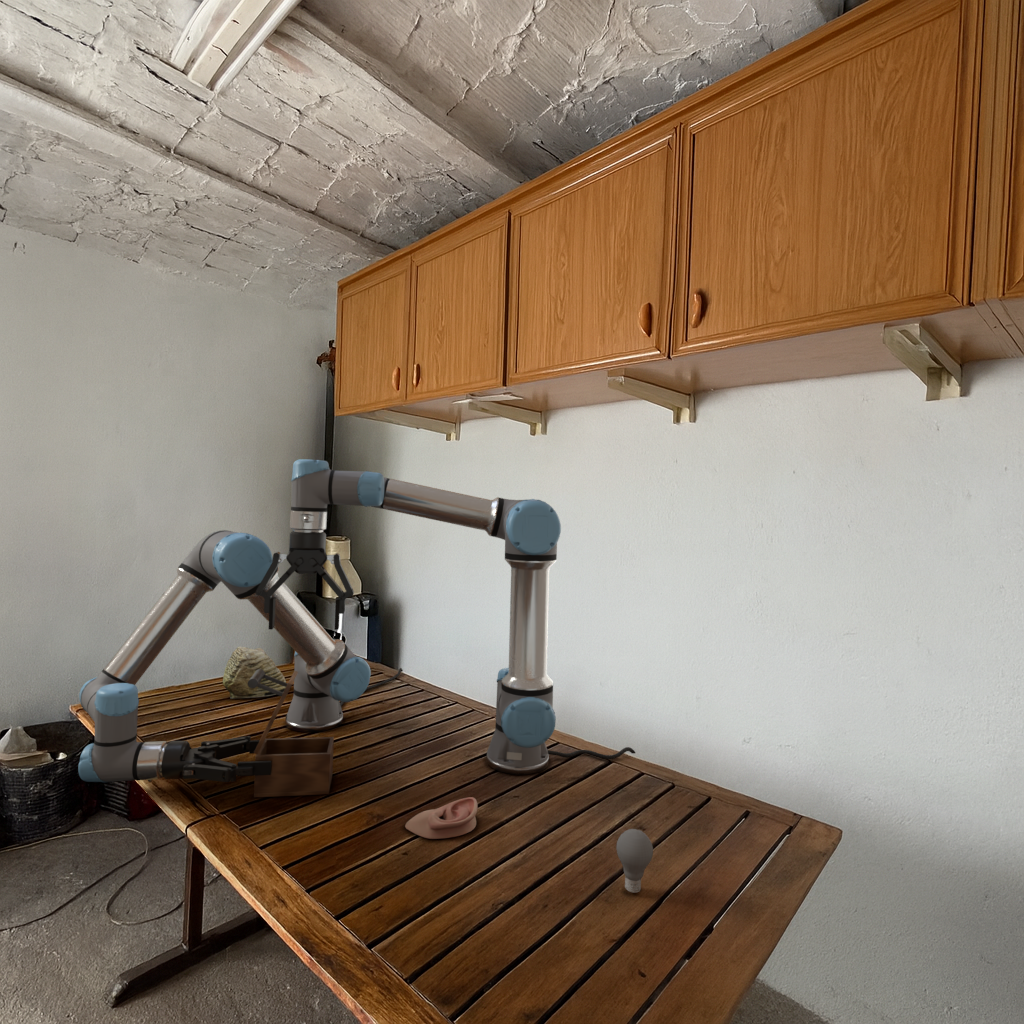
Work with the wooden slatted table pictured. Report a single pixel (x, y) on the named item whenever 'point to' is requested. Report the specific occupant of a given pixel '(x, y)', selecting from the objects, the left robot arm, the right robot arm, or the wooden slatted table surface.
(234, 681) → the fossil
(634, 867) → the light bulb
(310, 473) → the right robot arm
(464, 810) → the anatomical model
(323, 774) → the chest
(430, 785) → the wooden slatted table surface
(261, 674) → the lid
